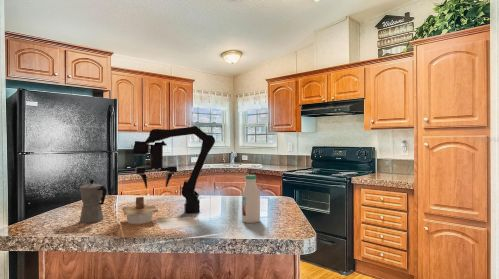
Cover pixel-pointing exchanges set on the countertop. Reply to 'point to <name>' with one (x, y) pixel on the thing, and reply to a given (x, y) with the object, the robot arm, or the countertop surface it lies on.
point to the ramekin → (139, 218)
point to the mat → (177, 222)
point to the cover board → (141, 211)
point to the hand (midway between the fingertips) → (156, 187)
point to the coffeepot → (92, 202)
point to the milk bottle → (251, 201)
